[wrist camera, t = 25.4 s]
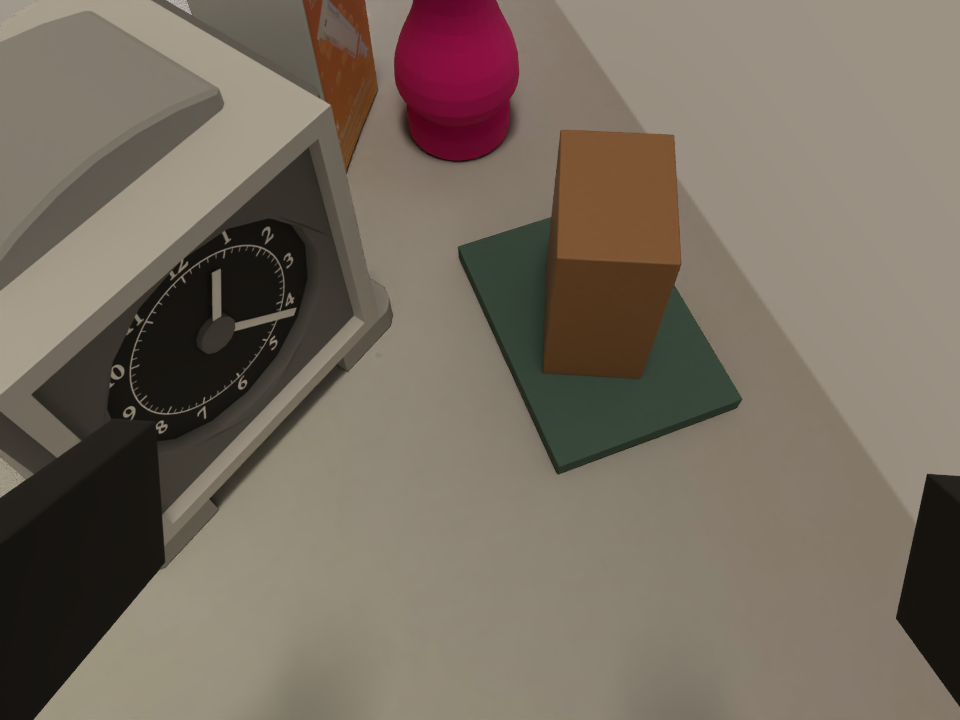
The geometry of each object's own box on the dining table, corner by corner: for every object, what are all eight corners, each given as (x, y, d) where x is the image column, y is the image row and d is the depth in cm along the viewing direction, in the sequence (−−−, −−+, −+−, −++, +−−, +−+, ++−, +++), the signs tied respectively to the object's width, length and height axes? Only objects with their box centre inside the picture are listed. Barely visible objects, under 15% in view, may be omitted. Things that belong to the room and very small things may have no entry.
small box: (344, 183, 49) (301, -6, 38) (244, 167, 50) (172, -24, 39) (381, 88, 53) (352, -111, 42) (287, 73, 54) (233, -125, 42)
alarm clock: (148, 585, 38) (-101, 420, 22) (-29, 428, 42) (-351, 190, 26) (402, 312, 45) (355, 36, 29) (230, 199, 49) (104, -100, 33)
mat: (737, 407, 42) (742, 399, 41) (557, 474, 40) (558, 467, 40) (618, 206, 48) (621, 194, 48) (458, 256, 47) (457, 246, 46)
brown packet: (638, 265, 45) (674, 134, 36) (641, 379, 42) (681, 264, 33) (546, 261, 45) (560, 128, 37) (542, 373, 42) (556, 258, 33)
